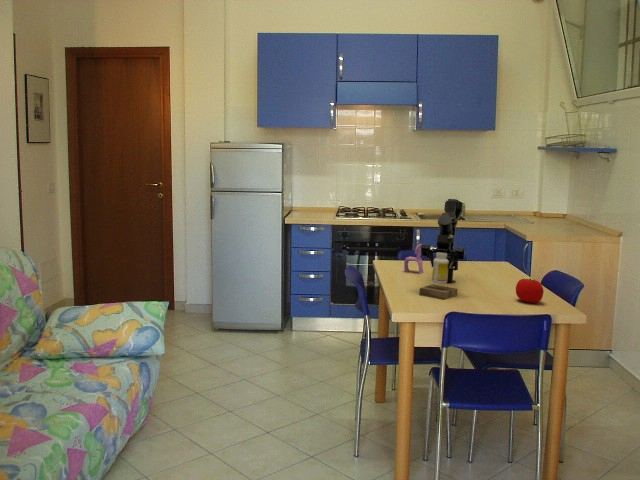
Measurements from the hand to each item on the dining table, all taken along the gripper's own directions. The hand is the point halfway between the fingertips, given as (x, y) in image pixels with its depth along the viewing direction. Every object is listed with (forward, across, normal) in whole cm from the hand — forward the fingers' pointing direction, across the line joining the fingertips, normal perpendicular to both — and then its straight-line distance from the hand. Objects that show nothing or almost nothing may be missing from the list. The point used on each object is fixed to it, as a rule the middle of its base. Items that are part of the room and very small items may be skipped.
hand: (440, 267), depth 308 cm
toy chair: (-26, -18, +44) cm, 54 cm away
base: (+8, 0, +10) cm, 13 cm away
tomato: (+4, +38, +14) cm, 41 cm away
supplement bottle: (+4, 0, +6) cm, 7 cm away
